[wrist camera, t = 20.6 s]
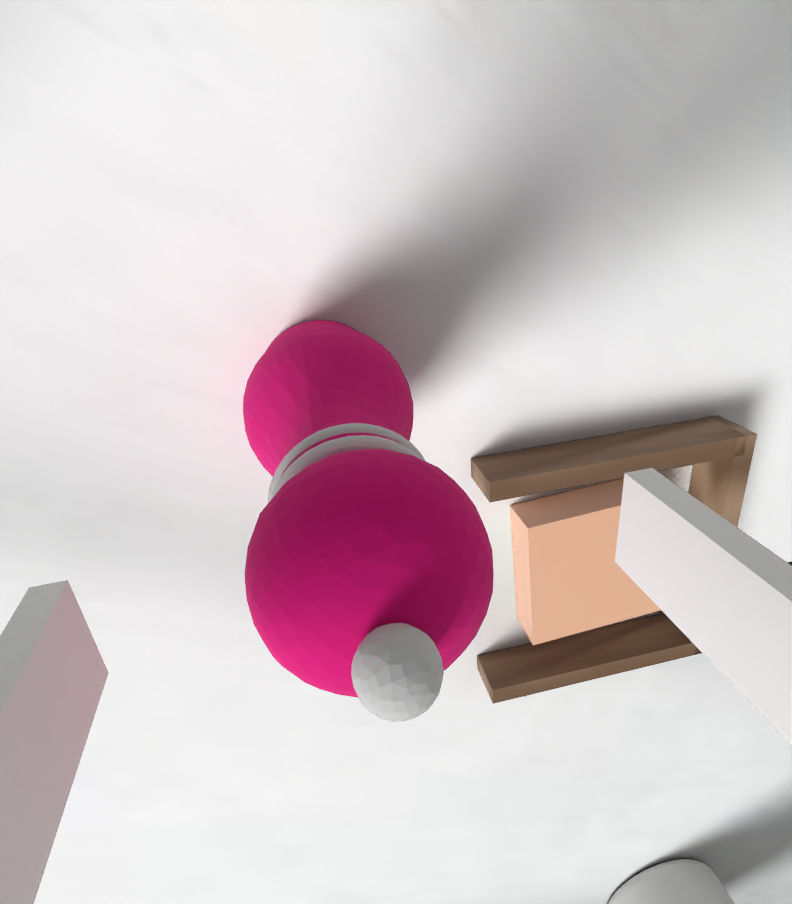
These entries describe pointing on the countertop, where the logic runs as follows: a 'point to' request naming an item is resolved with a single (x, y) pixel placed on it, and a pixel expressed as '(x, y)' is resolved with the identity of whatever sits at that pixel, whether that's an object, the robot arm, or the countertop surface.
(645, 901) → the cylinder vase
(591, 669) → the walnut frame
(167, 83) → the countertop surface
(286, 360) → the pepper mill
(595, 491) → the terracotta tile
